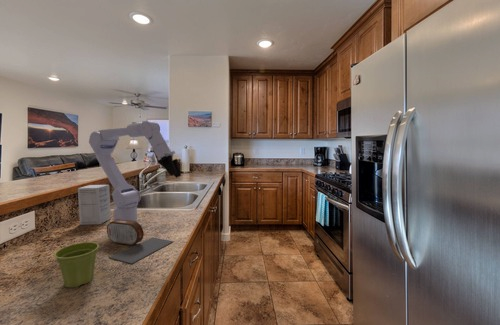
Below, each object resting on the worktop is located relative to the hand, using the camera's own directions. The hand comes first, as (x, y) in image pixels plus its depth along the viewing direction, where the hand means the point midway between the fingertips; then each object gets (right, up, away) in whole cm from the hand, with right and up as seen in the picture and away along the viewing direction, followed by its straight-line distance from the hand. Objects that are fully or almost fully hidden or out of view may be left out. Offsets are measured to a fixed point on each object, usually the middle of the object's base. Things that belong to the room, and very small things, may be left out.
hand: (176, 175), depth 96 cm
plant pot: (-15, -26, -33) cm, 45 cm away
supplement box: (-43, -23, +16) cm, 51 cm away
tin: (-16, -24, -9) cm, 30 cm away
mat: (-7, -25, -14) cm, 29 cm away
